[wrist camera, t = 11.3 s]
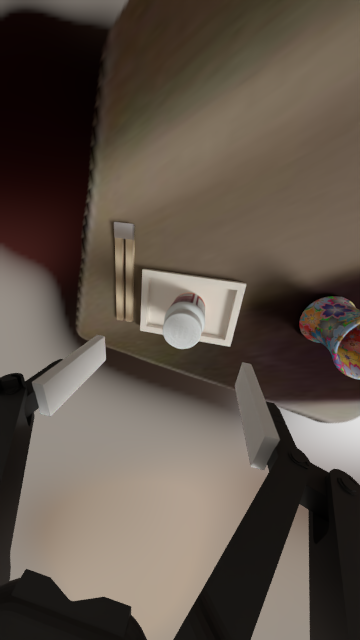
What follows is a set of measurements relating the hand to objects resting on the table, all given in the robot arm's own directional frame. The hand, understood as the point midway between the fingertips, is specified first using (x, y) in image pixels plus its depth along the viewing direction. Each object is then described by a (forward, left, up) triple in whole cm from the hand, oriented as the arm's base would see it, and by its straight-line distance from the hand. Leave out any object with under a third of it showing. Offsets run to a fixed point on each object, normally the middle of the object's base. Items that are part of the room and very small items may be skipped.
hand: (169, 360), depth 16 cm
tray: (0, 0, -18) cm, 18 cm away
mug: (-1, +25, -19) cm, 31 cm away
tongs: (-4, -13, -19) cm, 23 cm away
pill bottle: (0, 0, -18) cm, 18 cm away
